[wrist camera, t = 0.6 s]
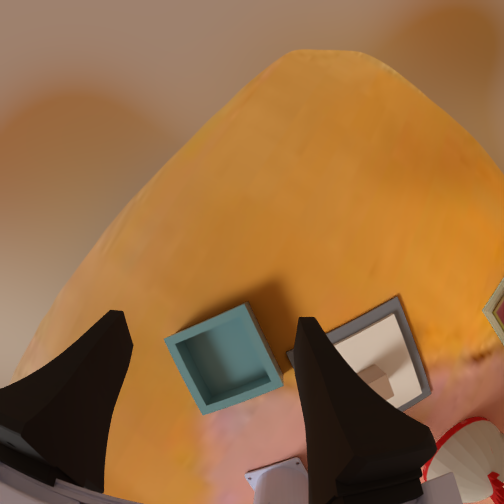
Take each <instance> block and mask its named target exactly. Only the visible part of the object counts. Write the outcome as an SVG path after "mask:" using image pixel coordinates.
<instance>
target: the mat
mask: <svg viewBox="0 0 504 504" xmlns="http://www.w3.org/2000/svg"><path fill="white" fill-rule="evenodd" d="M391 313H392V314H394V315H395V318H396V320H397V323H398V325H399V328H400V331H401V333H402V336H403V339H404V341H405V344H406V347H407V349H408V352H409V355H410V358H411V361H412V364H413V367H414V370H415V373H416V376H417V379H418V382H419V385H420V388H421V391H422V394H420V395H419V396H417V397H415V398H414V399H412V400H410V401H409V402H407V403H405V404H404V405H402V406H400V407H398V408H397V409H398V410H400V411H402V412H403V411H405V410H406V409H408V408H410V407H411V406H413V405H415V404H416V403H418V402H420V401H421V400H423V399H424V398H426V397H428V396H429V395H431V391H430V387H429V384H428V381H427V378H426V374H425V371H424V368H423V365H422V362H421V359H420V356H419V353H418V350H417V347H416V344H415V342H414V339H413V336H412V333H411V331H410V328H409V325H408V322H407V320H406V317H405V315H404V312H403V309H402V307H401V304H400V302H399V299H398V297H394V298H392V299H390V300H389V301H387V302H385V303H383V304H382V305H380V306H378V307H376V308H374V309H372V310H371V311H369V312H367V313H365V314H363V315H361V316H359V317H358V318H356V319H354V320H352V321H350V322H348V323H346V324H344V325H342V326H340V327H338V328H336V329H334V330H332V331H330V332H328V333H326V335H327V337H328V338H329V340H330V341H331V342H332V344H335V343H337V342H339V341H341V340H343V339H345V338H347V337H349V336H351V335H353V334H355V333H357V332H359V331H360V330H362V329H364V328H366V327H368V326H370V325H372V324H373V323H375V322H377V321H379V320H381V319H382V318H384V317H386V316H388V315H390V314H391ZM293 351H294V349H292V350H290V351H288V352H286V354H287V356H288V358H289V360H290V362H291V364H292V366H293V368H294V355H293ZM294 370H295V368H294Z"/></svg>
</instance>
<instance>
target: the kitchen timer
mask: <svg viewBox="0 0 504 504" xmlns="http://www.w3.org/2000/svg"><path fill="white" fill-rule="evenodd" d="M436 446H437V451H436V453H435V455H434V456H433V457H432V458H431V459H430V460H429V461H428V462H427V463H425V464H424V469H423V476H424V480H425V481H428V480H431V479H433V478H436V477H439V476H442V475H444V474H447V473H449V472H453V473H454V476H455V480H456V483H457V486H458V489H459V492H460V496H461V499H462V502H463V503H472V502H478V501H481V500H484V499H486V498H488V497H491V499H492V500H493V502H494V503H495V504H504V488H503V487H502V486H504V483H503V482H504V434H503V433H500V431H499V429H498V428H497V427H496V426H495V425H494V424H493V423H491V422H490V421H489V420H487V419H486V418H483V417H473V418H468V419H466V420H464V421H462V422H460V423H458V424H457V425H455V426H454V427H453V428H451V429H450V430H449V431H447V432H446V433H445V434H444V435H443V436H442V437H441V438H440V439H439V440H438V442H437V443H436Z"/></svg>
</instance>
